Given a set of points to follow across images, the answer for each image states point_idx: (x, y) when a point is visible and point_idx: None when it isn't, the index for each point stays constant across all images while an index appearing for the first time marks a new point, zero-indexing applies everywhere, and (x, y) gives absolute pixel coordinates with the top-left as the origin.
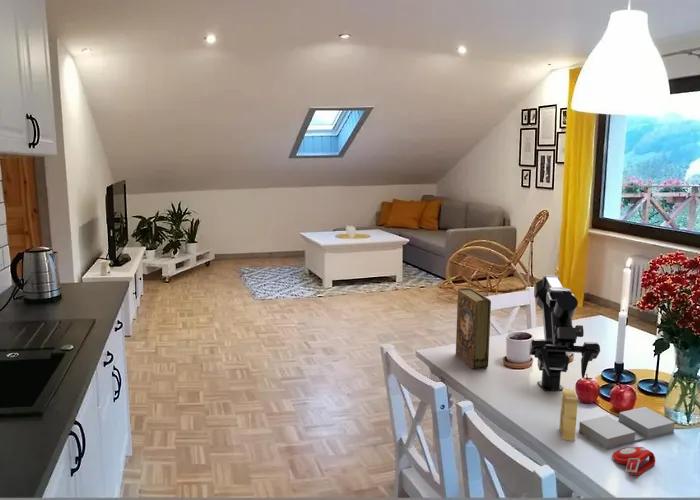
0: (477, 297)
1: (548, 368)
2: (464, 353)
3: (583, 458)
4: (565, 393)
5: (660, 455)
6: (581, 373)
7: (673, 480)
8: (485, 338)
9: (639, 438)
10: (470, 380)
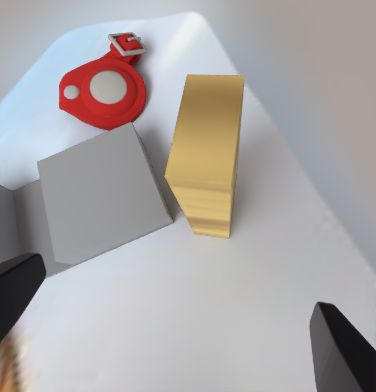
0: None
1: (359, 353)
2: None
3: None
4: (230, 127)
5: (37, 127)
6: (14, 321)
7: (72, 55)
8: None
9: (35, 183)
10: None
